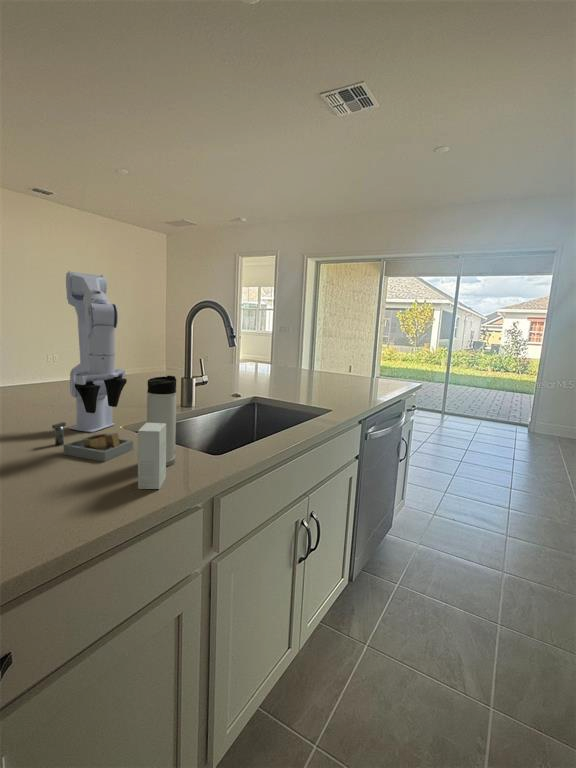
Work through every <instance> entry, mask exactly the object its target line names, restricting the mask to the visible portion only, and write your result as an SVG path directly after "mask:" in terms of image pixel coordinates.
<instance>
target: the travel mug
mask: <svg viewBox="0 0 576 768" xmlns="http://www.w3.org/2000/svg"><path fill="white" fill-rule="evenodd" d="M146 394H147V395H146V423H165V424H166V467H170V466H171V465H173V464H174V463H175V462H176V427H177V425H176V424H177V378H176V376H174V375H167V376H158V377H157V376H156V377H152V378H149V379H148V380H147V391H146ZM169 465H170V466H169Z"/></svg>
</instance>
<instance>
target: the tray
mask: <svg viewBox="0 0 576 768" xmlns="http://www.w3.org/2000/svg"><path fill="white" fill-rule="evenodd" d="M94 435H98V434H95V433H94V434H92V435H89V436H87V437H90V436H94ZM87 437H84V438H81V439H78V440H75V441H72V442H69V443H66V444H63V455H67V456H72V457H77V458H82V459H89V460H93V461H97V462H98V461H99V462H104V463H105V462H107V461H110V460H112V459H114V458H116V457H118V456H121V455H123V454H126V453H127V452H130V451H132V450H134V440H133V439H126V438H120V437H118V438H119V444H120V445H119V446H116V447H110V448H103V449H99V450H96V449H91V448H85V447H84V444H83V439H85V438H87Z"/></svg>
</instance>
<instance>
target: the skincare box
mask: <svg viewBox="0 0 576 768" xmlns="http://www.w3.org/2000/svg"><path fill="white" fill-rule="evenodd" d="M166 471H167V466H166V424H165V423H147V422H145V423H144V424H143V425H142V426H141V427H140V428H139V430H137V489H138V490H139V489H159V490H160V489H161V487H162V485H163V483H164V482H165V479H166V478H167V472H166Z"/></svg>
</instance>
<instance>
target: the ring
mask: <svg viewBox="0 0 576 768" xmlns="http://www.w3.org/2000/svg"><path fill="white" fill-rule="evenodd" d="M93 435H94V434H93ZM89 436H90V437H89ZM89 436H87V438H86V437H84V438H85V439H83V438H82V439H83V444H84V447H85V448H91V449H96V450H99V449H103V448H110V447H116V446H119V445H120V444H119V438H120V437H119V434H118V432H112V433H111V432H110V433H100V434H99V433H98V434H97V435H94V436H92V435H89Z"/></svg>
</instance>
